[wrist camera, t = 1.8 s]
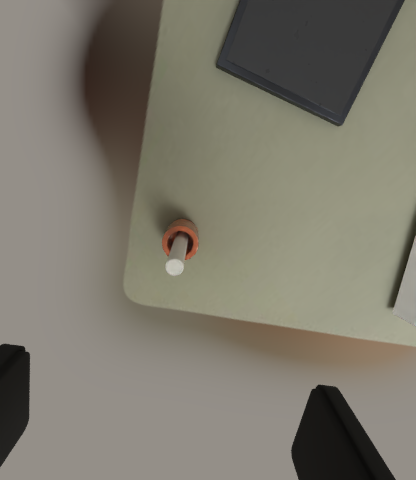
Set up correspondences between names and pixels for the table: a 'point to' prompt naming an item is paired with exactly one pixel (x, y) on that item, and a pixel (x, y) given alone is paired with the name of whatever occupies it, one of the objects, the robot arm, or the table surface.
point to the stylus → (177, 254)
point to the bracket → (408, 291)
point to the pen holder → (186, 227)
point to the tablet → (308, 49)
